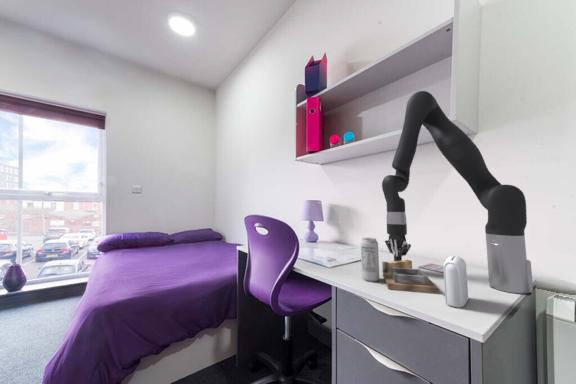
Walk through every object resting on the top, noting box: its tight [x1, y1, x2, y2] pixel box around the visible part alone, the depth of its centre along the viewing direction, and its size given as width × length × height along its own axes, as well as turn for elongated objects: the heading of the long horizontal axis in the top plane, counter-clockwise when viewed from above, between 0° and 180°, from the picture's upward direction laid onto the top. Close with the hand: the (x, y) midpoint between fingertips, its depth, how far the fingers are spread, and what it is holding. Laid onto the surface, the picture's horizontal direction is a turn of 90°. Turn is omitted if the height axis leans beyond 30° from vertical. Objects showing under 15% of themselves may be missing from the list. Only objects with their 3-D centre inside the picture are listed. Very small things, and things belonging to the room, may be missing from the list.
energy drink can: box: [360, 237, 380, 283], centre depth 82 cm, size 6×6×15 cm
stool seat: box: [382, 267, 440, 295], centre depth 76 cm, size 14×13×4 cm
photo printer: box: [443, 255, 469, 309], centre depth 63 cm, size 10×4×12 cm, turn 134°
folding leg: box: [381, 259, 413, 274], centre depth 87 cm, size 13×2×5 cm, turn 109°
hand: (398, 265), depth 93 cm, fingers closed
